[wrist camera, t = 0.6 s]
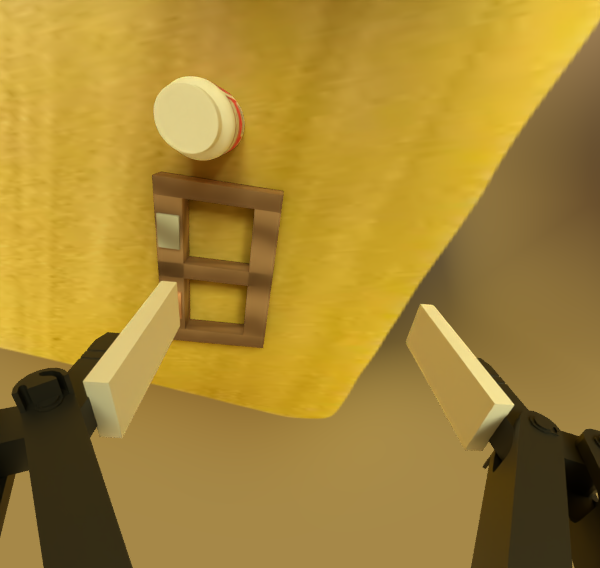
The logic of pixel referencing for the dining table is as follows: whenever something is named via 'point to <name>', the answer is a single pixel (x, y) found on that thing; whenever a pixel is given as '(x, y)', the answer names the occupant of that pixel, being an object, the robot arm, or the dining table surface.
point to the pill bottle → (198, 118)
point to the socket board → (182, 267)
